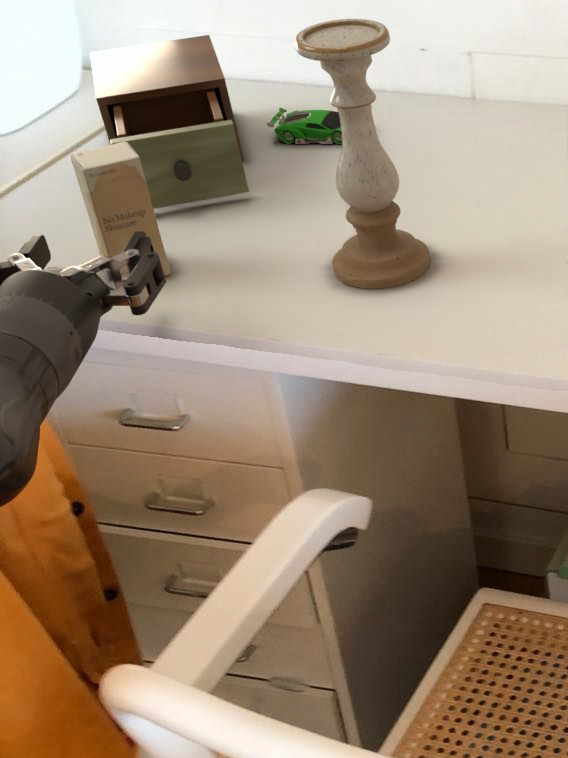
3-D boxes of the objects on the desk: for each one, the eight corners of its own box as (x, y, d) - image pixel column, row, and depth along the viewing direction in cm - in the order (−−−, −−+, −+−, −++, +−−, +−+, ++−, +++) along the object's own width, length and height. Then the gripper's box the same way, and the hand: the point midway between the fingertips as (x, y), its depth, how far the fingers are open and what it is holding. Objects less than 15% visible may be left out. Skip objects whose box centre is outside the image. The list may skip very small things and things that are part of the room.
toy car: (371, 128, 142) (368, 107, 141) (359, 145, 139) (355, 124, 137) (284, 127, 143) (279, 106, 142) (270, 144, 140) (265, 123, 138)
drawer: (251, 196, 128) (234, 128, 123) (132, 217, 125) (111, 148, 121) (232, 142, 138) (217, 77, 134) (123, 161, 136) (103, 95, 131)
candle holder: (348, 298, 113) (300, 59, 100) (323, 257, 119) (275, 27, 106) (443, 275, 116) (409, 39, 102) (414, 236, 122) (378, 8, 108)
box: (117, 290, 116) (78, 169, 109) (104, 271, 119) (65, 153, 112) (174, 273, 118) (140, 154, 111) (160, 256, 121) (125, 138, 114)
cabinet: (244, 161, 137) (224, 78, 131) (121, 182, 134) (96, 98, 128) (228, 113, 147) (209, 34, 141) (113, 132, 144) (89, 52, 139)
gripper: (108, 293, 94) (165, 197, 106) (-85, 300, 95) (-7, 203, 107) (138, 382, 99) (189, 281, 111) (-46, 388, 100) (25, 287, 112)
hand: (93, 243), depth 109 cm, fingers open, 8 cm apart
